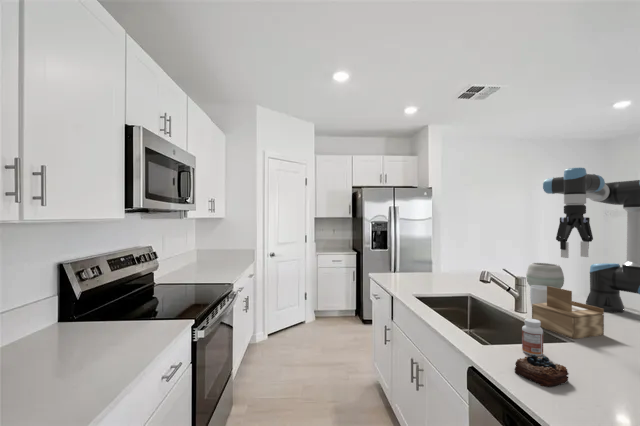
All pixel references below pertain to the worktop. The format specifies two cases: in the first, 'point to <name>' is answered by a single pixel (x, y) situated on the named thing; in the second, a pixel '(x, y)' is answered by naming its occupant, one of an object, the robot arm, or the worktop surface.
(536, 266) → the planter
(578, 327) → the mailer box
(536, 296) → the mug
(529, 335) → the pill bottle
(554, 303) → the lid
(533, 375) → the pastry
